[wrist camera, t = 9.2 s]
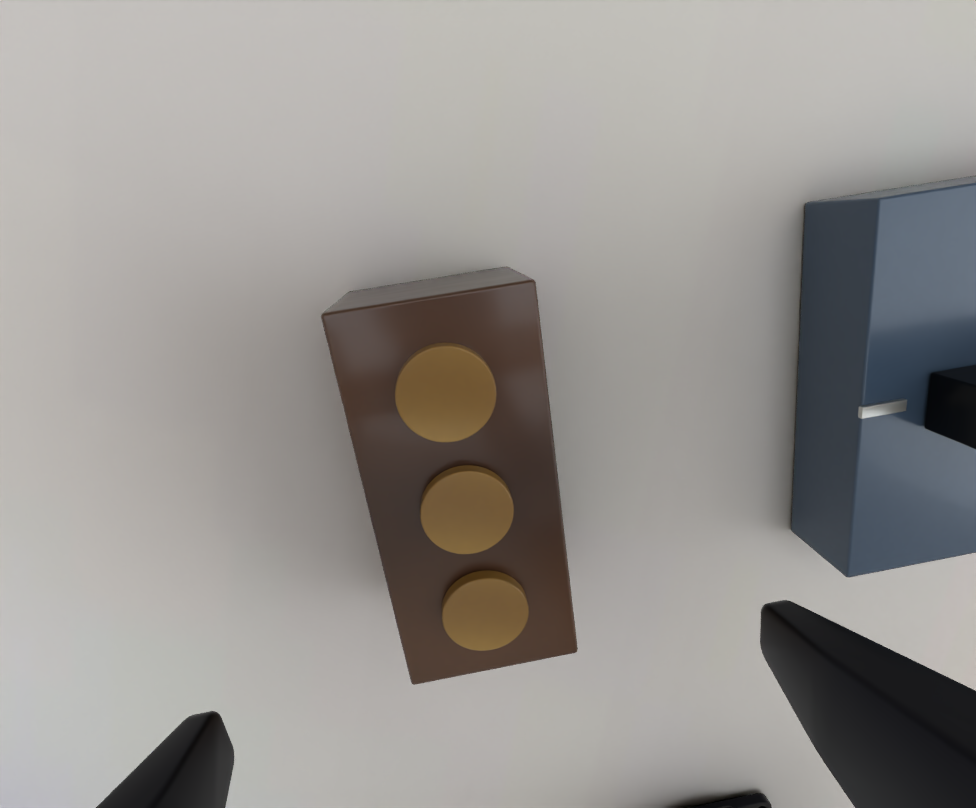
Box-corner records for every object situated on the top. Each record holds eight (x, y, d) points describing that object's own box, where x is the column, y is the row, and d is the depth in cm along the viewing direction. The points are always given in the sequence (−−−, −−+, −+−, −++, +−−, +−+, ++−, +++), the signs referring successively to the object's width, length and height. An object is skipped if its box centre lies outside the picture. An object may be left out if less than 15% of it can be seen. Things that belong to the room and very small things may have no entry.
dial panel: (1034, 484, 21) (1132, 526, 18) (787, 531, 21) (847, 582, 18) (1101, 155, 18) (1240, 141, 15) (800, 203, 17) (880, 198, 14)
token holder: (547, 565, 20) (582, 663, 16) (415, 590, 20) (411, 697, 15) (509, 266, 17) (539, 280, 12) (347, 291, 16) (315, 316, 12)
